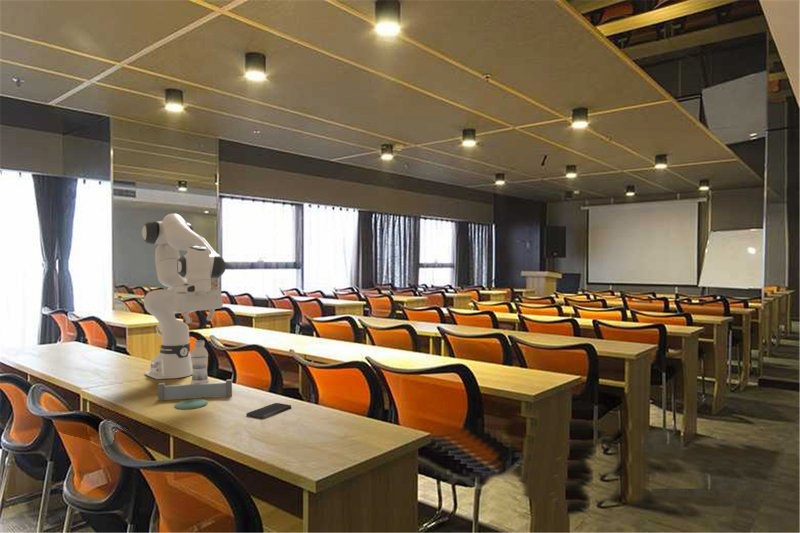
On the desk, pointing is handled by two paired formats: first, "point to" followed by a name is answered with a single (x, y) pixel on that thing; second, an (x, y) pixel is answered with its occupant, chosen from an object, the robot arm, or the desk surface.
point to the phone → (268, 410)
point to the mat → (191, 404)
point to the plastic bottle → (199, 363)
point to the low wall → (194, 390)
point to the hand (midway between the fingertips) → (199, 321)
